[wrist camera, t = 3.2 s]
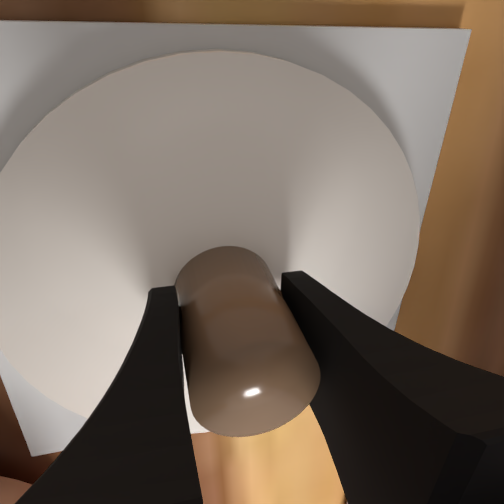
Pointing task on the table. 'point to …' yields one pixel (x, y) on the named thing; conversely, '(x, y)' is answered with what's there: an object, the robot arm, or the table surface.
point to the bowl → (12, 490)
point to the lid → (199, 229)
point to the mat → (230, 38)
